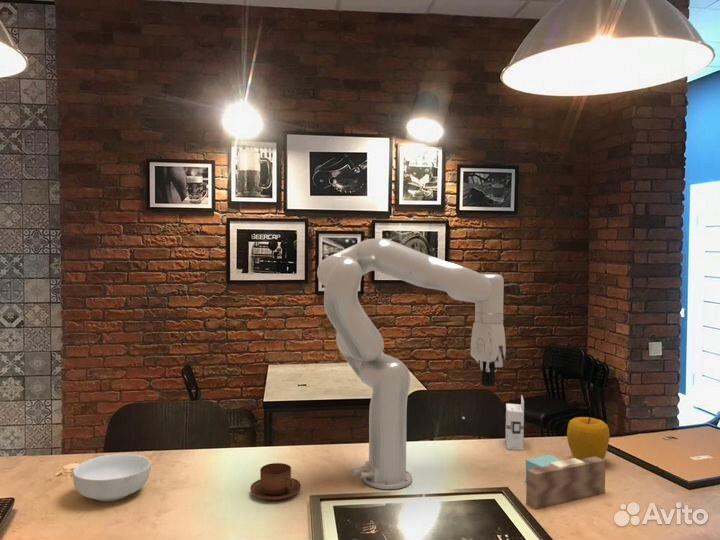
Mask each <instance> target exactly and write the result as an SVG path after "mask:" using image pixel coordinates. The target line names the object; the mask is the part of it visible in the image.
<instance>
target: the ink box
mask: <svg viewBox="0 0 720 540" xmlns="http://www.w3.org/2000/svg"><path fill="white" fill-rule="evenodd" d="M520 400H521V401H520V404H518V403H505V445H506V449H507V450H512V451H513V450H515V451H524V434H525V433H524V429H525V400H524V397H523V395H522V394H521V397H520Z"/></svg>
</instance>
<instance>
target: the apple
mask: <svg viewBox="0 0 720 540" xmlns="http://www.w3.org/2000/svg"><path fill="white" fill-rule="evenodd" d="M610 435H611V434H610V429H609V425H608V424H607V423H605V422H604V421H603V420H601V419H598V418H594V417H589V416H579V417H578V416H577V417H576V416H575V417H574V418H572V419H569V422H568V424H567V430H566V439H567V443H568V447H569V450H570V452H571V454H572V456H573V458H576V459H578V460H579V459H585V458H590V457H595V456H596V457H598V458H601V459H603V460H605V457H606V455H607V451H608V447H609V443H610Z"/></svg>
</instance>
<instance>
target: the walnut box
mask: <svg viewBox="0 0 720 540" xmlns="http://www.w3.org/2000/svg"><path fill="white" fill-rule="evenodd" d="M560 460H561V461H556V462H551V463H550V464H549V466H544V467H539V468H534V469H529V470H527V480H526V479H525V480H526V482H525V483H526V489H525V493H526V494H525V504H526V505H527V506H529V507H531V508H533V509H535V510H537V509H538V510H539V509H541V508H542V509H543V508H546V507H551V506H555V505H558V504H563V503H568V502H571V501H576V500H579V499H580V500H581V499H584V498H588V497H593V496H596V495H601V494H604V493H606V459H601V458H598V457H596V456H595V457H590V458H585V459H579V460H578V459H576V458H574V457H573V458H568V459H560Z"/></svg>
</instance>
